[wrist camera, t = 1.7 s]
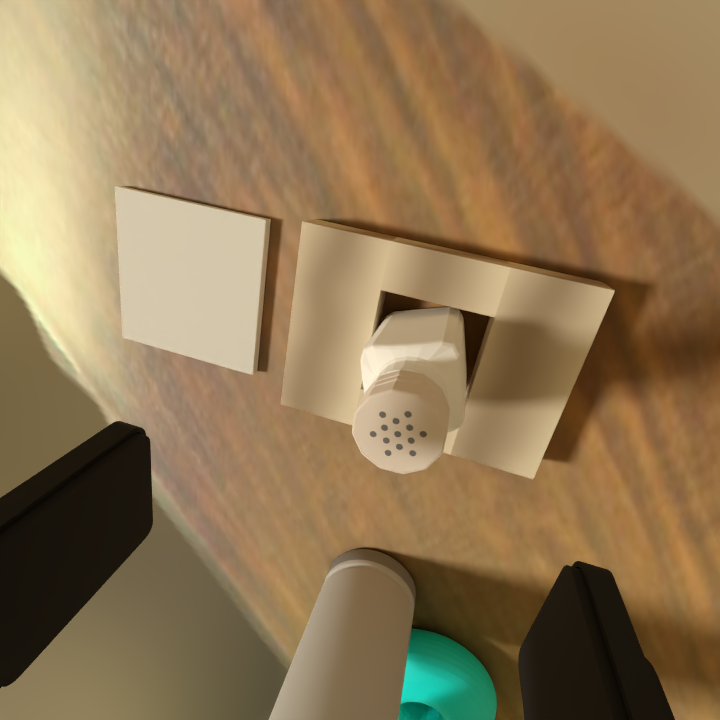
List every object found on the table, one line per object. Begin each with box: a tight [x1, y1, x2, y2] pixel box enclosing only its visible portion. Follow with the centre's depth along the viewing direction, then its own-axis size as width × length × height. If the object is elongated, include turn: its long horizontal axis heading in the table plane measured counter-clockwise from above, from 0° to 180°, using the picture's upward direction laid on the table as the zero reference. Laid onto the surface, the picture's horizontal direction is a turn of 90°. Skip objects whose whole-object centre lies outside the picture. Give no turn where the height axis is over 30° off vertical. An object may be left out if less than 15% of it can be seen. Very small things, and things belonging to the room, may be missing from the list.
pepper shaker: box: [352, 307, 467, 474], centre depth 18 cm, size 4×4×10 cm
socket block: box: [281, 219, 615, 479], centre depth 22 cm, size 14×10×2 cm
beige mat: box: [115, 186, 271, 375], centre depth 24 cm, size 9×9×1 cm
